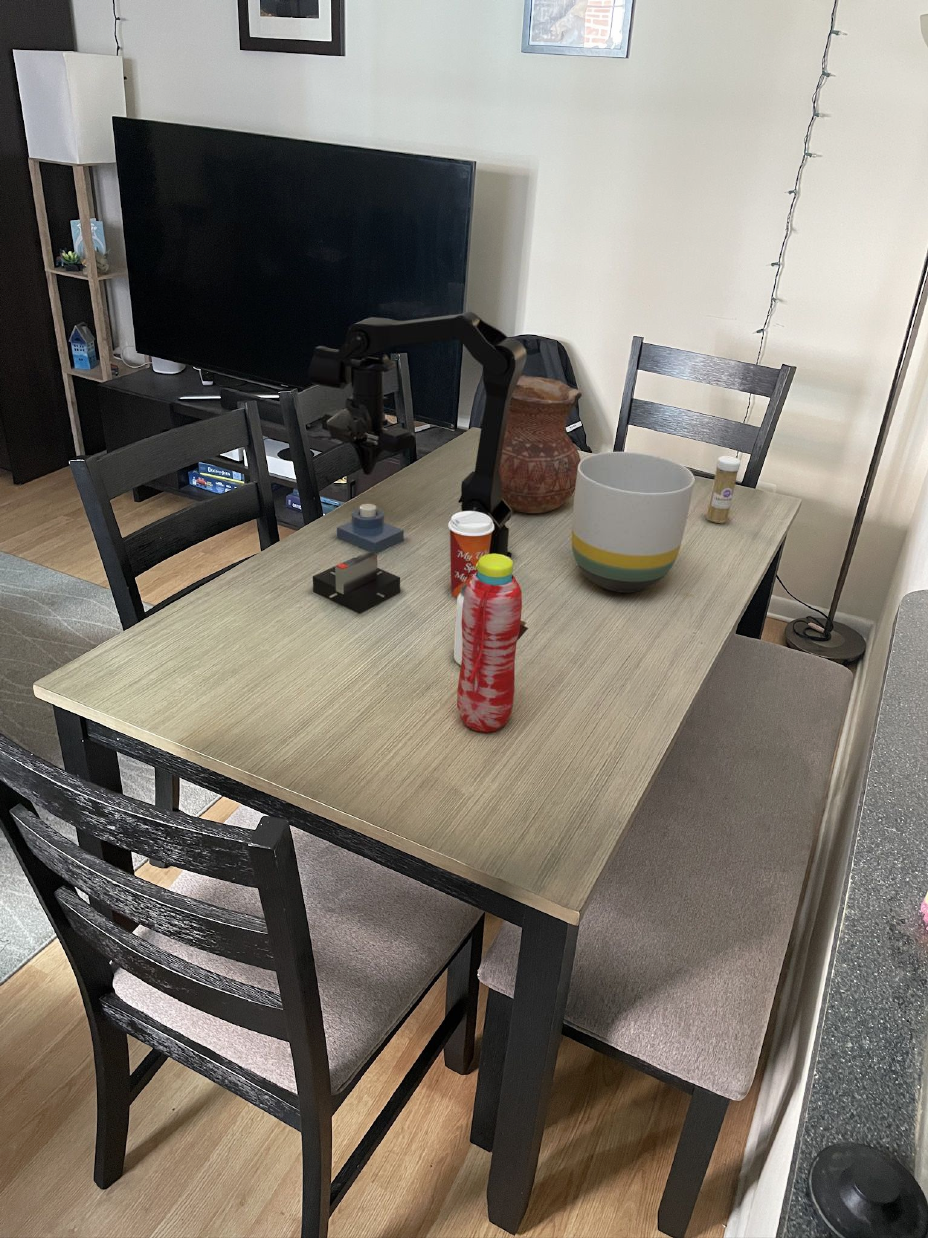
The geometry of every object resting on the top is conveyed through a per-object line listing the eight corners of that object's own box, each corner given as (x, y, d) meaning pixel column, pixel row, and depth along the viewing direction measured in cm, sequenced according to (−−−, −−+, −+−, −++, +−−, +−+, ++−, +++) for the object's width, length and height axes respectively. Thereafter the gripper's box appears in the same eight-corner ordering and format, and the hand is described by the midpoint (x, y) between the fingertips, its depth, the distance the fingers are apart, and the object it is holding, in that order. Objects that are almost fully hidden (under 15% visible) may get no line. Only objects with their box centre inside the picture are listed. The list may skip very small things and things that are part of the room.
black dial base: (411, 597, 152) (411, 581, 151) (357, 626, 143) (357, 609, 142) (354, 572, 159) (354, 556, 158) (299, 598, 150) (298, 581, 149)
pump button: (379, 515, 173) (379, 506, 172) (368, 520, 170) (368, 511, 169) (367, 510, 174) (367, 502, 173) (356, 515, 172) (356, 506, 171)
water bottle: (480, 685, 130) (491, 529, 118) (530, 701, 128) (547, 543, 115) (441, 728, 121) (449, 564, 108) (494, 747, 118) (509, 581, 106)
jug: (594, 499, 194) (609, 385, 182) (549, 531, 179) (562, 409, 166) (506, 475, 204) (514, 366, 191) (456, 503, 188) (462, 386, 176)
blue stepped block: (407, 538, 172) (407, 519, 170) (374, 553, 166) (374, 534, 164) (367, 522, 178) (367, 504, 176) (334, 536, 172) (334, 517, 170)
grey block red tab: (369, 574, 152) (369, 549, 150) (377, 578, 151) (377, 553, 149) (335, 590, 147) (335, 565, 144) (343, 594, 146) (342, 568, 143)
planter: (545, 567, 165) (557, 457, 154) (634, 553, 172) (652, 447, 161) (599, 617, 149) (617, 499, 139) (695, 600, 157) (718, 486, 146)
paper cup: (457, 607, 150) (461, 531, 143) (437, 587, 156) (440, 513, 149) (498, 598, 153) (503, 524, 146) (476, 579, 159) (481, 506, 152)
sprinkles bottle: (714, 525, 185) (727, 463, 179) (701, 516, 189) (713, 456, 182) (732, 522, 187) (745, 461, 180) (718, 514, 191) (731, 454, 184)
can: (491, 674, 133) (497, 604, 127) (449, 667, 134) (453, 598, 128) (499, 651, 139) (504, 583, 133) (458, 645, 140) (462, 577, 134)
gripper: (298, 389, 159) (301, 471, 167) (374, 413, 150) (374, 499, 158) (342, 378, 167) (344, 457, 175) (417, 400, 158) (415, 483, 165)
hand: (367, 474), depth 168 cm, fingers closed
